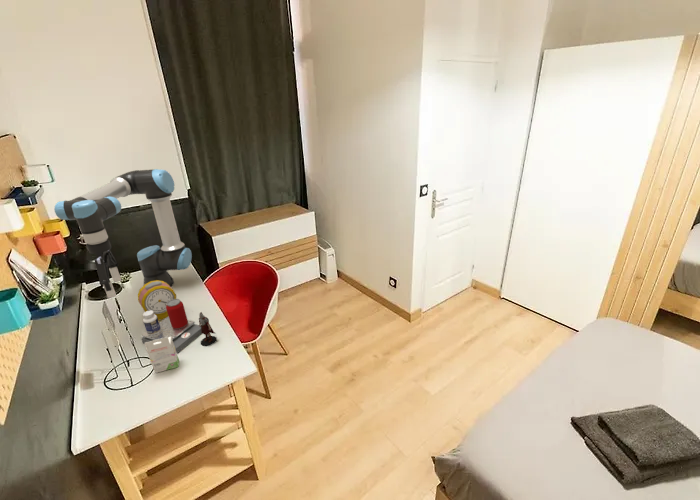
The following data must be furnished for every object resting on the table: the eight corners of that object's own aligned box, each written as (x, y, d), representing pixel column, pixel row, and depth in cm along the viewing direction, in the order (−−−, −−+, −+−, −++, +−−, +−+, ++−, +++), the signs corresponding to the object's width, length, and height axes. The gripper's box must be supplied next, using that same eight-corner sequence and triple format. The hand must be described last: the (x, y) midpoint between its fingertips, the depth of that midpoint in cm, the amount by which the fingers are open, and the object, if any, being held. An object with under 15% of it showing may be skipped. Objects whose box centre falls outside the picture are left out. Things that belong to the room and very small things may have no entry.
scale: (171, 322, 167) (170, 316, 166) (204, 330, 160) (203, 325, 159) (142, 343, 154) (140, 337, 153) (177, 353, 147) (175, 347, 145)
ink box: (179, 359, 144) (169, 329, 137) (178, 367, 139) (168, 337, 133) (155, 365, 141) (145, 335, 135) (154, 373, 137) (143, 343, 130)
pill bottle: (155, 336, 151) (149, 317, 147) (144, 335, 152) (137, 316, 148) (163, 328, 156) (157, 309, 152) (153, 327, 157) (146, 308, 153)
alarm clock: (148, 325, 166) (137, 292, 158) (144, 318, 171) (132, 285, 164) (181, 312, 174) (171, 280, 167) (176, 305, 180) (166, 274, 172)
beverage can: (184, 318, 162) (178, 296, 157) (190, 324, 157) (184, 301, 152) (169, 325, 158) (162, 302, 153) (175, 331, 153) (168, 308, 148)
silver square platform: (170, 318, 166) (169, 315, 165) (195, 324, 160) (194, 321, 159) (142, 338, 153) (141, 335, 152) (168, 345, 148) (167, 342, 147)
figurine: (197, 344, 152) (188, 314, 145) (209, 334, 158) (202, 305, 151) (208, 347, 149) (200, 318, 143) (221, 337, 155) (213, 308, 149)
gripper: (92, 232, 145) (110, 277, 154) (77, 255, 124) (98, 306, 133) (113, 228, 147) (129, 273, 156) (102, 251, 126) (121, 301, 135)
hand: (115, 288), depth 145 cm, fingers open, 13 cm apart
